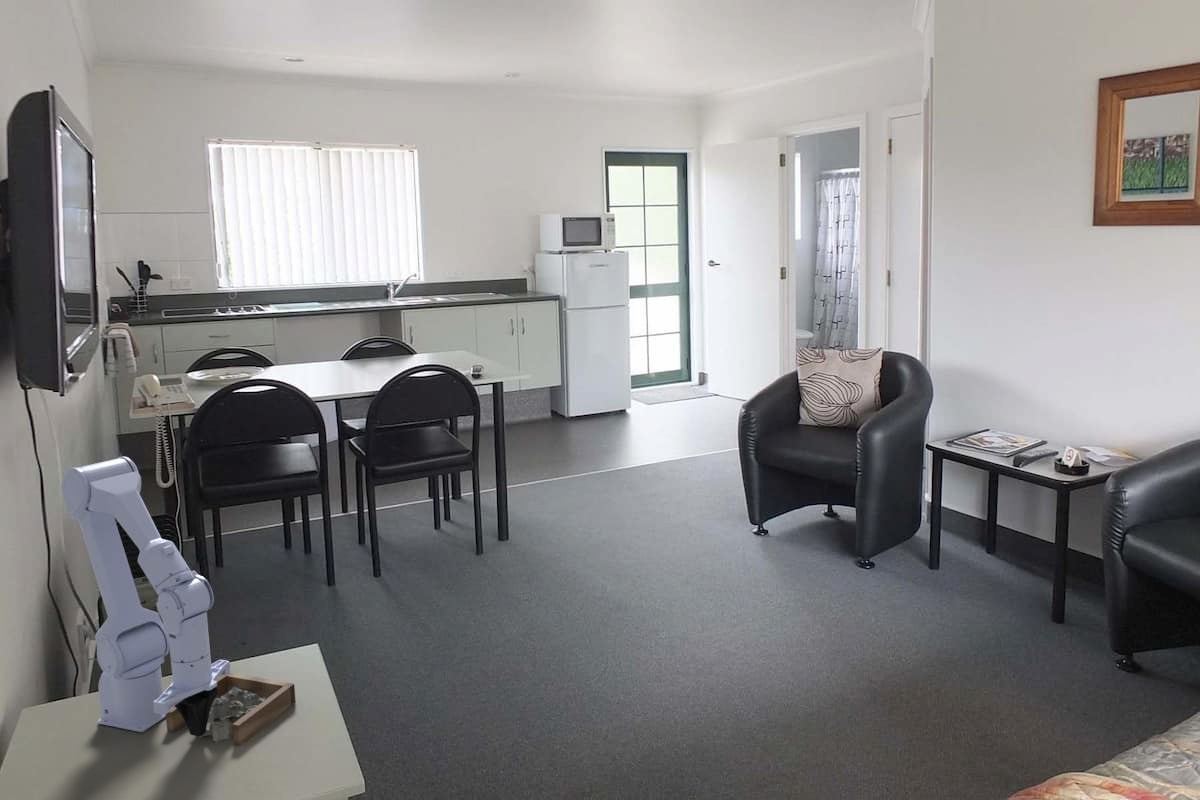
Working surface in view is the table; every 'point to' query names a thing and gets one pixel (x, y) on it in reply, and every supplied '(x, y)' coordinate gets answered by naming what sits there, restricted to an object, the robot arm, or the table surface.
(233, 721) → the egg carton
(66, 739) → the table surface
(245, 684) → the walnut u-shaped frame
